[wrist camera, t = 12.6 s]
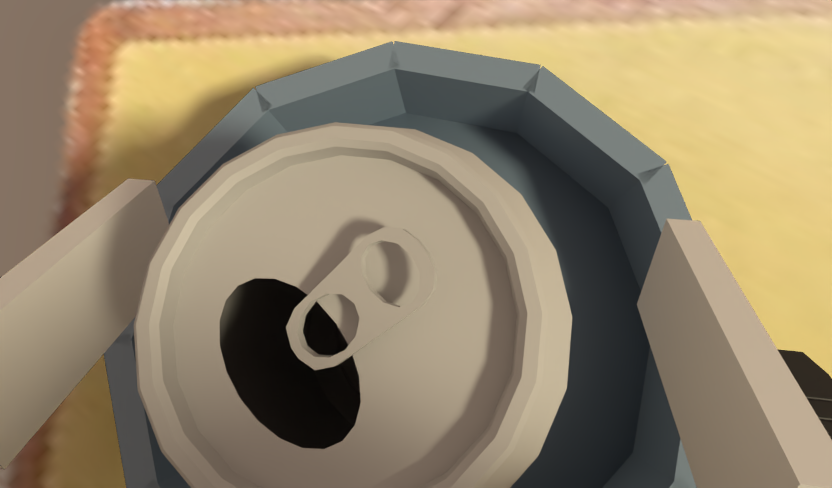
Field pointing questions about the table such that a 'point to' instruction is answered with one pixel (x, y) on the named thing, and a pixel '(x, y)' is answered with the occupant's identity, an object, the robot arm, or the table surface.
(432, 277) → the can
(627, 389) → the bowl
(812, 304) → the table surface
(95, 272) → the robot arm
